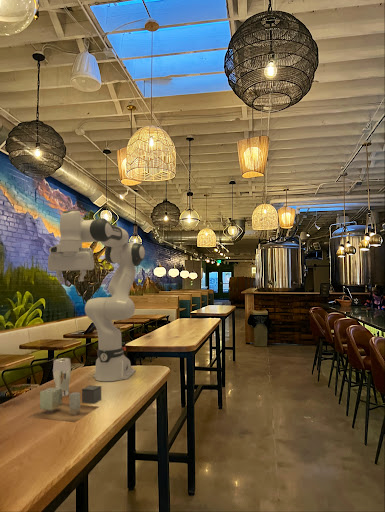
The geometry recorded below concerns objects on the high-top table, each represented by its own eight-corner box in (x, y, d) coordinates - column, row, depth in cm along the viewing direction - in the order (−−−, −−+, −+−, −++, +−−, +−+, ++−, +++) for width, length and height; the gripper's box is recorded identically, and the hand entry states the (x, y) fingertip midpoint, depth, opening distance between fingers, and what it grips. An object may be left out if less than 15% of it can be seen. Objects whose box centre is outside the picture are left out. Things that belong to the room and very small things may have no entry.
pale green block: (49, 408, 135) (49, 387, 135) (61, 409, 133) (61, 388, 134) (40, 413, 130) (40, 391, 130) (52, 414, 128) (52, 392, 129)
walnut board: (56, 405, 141) (56, 402, 141) (99, 409, 135) (99, 406, 135) (27, 419, 127) (27, 416, 127) (74, 425, 121) (74, 422, 121)
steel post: (74, 412, 130) (73, 392, 131) (80, 412, 129) (80, 392, 130) (69, 414, 128) (69, 394, 128) (75, 415, 127) (75, 394, 127)
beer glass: (65, 399, 147) (65, 361, 148) (49, 399, 149) (49, 361, 149) (74, 394, 154) (74, 358, 155) (59, 393, 155) (59, 357, 156)
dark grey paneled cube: (89, 400, 145) (89, 385, 145) (101, 401, 144) (101, 386, 144) (82, 405, 140) (81, 389, 141) (93, 406, 139) (93, 390, 139)
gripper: (97, 247, 153) (97, 281, 152) (55, 250, 158) (55, 282, 158) (88, 246, 147) (89, 281, 146) (45, 249, 152) (45, 282, 152)
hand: (71, 281), depth 152 cm, fingers open, 8 cm apart
